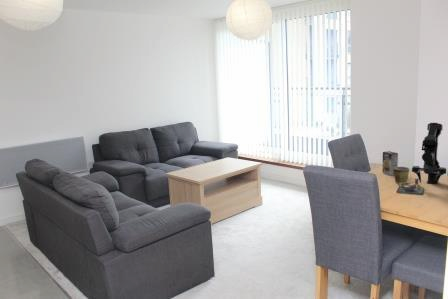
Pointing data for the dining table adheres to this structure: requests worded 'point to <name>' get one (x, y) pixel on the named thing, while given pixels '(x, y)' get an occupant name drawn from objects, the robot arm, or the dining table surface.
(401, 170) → the ceramic cup
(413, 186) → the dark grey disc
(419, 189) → the hub plate
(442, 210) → the dining table surface
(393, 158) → the coffee box
